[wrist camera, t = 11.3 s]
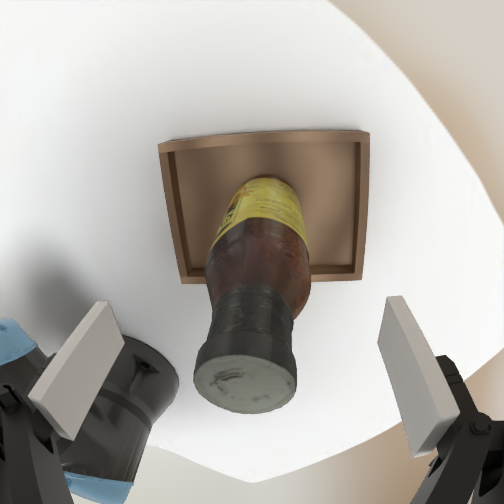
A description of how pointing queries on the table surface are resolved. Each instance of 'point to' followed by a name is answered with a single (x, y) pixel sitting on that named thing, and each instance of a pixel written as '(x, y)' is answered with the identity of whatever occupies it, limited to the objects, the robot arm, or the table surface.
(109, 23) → the table surface
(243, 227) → the sauce bottle
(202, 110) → the table surface
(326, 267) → the tray
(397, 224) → the table surface
